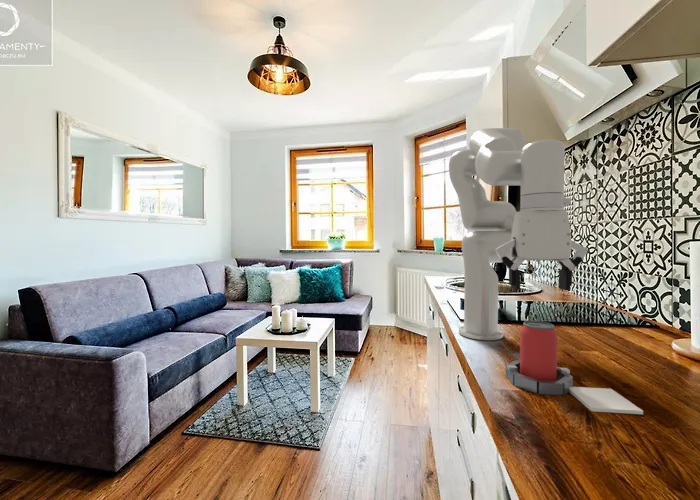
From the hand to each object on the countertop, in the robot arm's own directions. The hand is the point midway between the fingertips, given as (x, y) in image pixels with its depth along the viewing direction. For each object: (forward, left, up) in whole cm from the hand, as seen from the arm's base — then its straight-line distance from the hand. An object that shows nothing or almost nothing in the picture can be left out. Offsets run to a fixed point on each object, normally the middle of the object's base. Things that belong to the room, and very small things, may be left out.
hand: (539, 289), depth 66 cm
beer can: (0, 0, -19) cm, 19 cm away
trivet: (+7, +8, -19) cm, 22 cm away
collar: (0, 0, -19) cm, 19 cm away
